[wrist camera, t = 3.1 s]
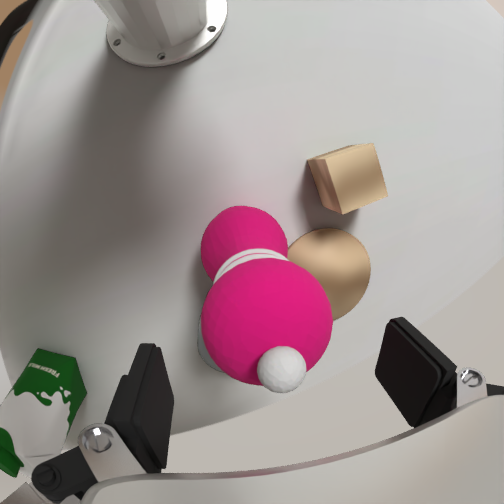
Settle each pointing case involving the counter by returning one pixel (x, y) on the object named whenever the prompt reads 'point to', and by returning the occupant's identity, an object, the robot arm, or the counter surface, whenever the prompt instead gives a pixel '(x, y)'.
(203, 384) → the counter surface
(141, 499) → the robot arm
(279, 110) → the counter surface
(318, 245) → the cork trivet
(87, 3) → the counter surface
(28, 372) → the milk carton
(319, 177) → the oak block
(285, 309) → the pepper mill
